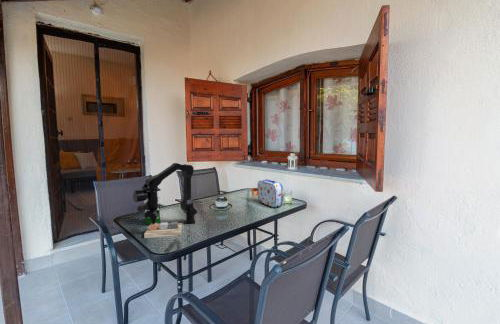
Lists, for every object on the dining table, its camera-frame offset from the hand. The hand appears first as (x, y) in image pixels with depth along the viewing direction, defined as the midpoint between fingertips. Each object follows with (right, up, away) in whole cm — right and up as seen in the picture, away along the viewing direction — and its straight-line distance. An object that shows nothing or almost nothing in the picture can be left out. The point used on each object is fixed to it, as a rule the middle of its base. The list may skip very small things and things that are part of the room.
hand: (153, 224), depth 151 cm
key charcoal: (+12, -3, +3) cm, 12 cm away
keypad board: (+6, -5, +2) cm, 8 cm away
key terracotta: (0, -4, 0) cm, 4 cm away
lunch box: (+76, +1, +61) cm, 97 cm away
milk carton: (-7, -4, +17) cm, 19 cm away
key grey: (+6, -3, +1) cm, 7 cm away
